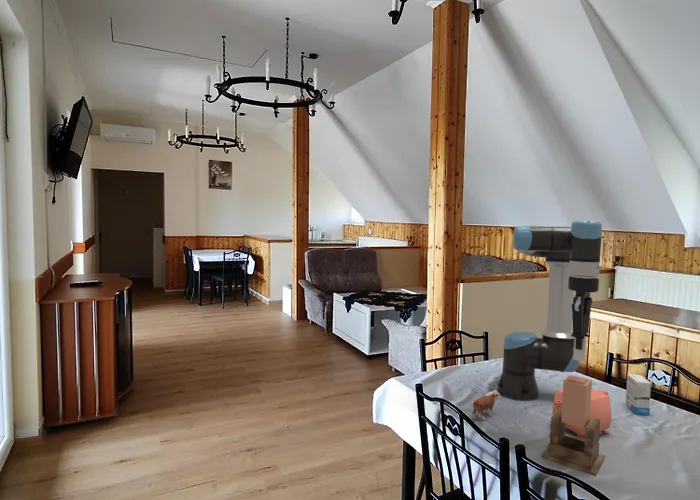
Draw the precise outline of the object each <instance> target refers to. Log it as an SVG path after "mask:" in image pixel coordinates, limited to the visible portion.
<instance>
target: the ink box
mask: <svg viewBox="0 0 700 500" xmlns="http://www.w3.org/2000/svg"><path fill="white" fill-rule="evenodd" d="M651 385H652V384H651V382H650V381H649V380H648V379H646V377H644V376H642V375H641V374H631V373H628V374H626V390H625V393H626V394H625V406H626V407H627V408H628V409H629V410H630V411H632V413H634V415H638V416H639V415H641V416H642V415H643V416H650V405H651Z"/></svg>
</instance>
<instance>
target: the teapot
mask: <svg viewBox="0 0 700 500" xmlns="http://www.w3.org/2000/svg"><path fill="white" fill-rule="evenodd" d="M562 398H563V387H562V388H558V389H556V391H555V395H554V400H553V404H552V413H551V414H552V415H551V416H553V415H554V414H555V413H556V411H557V410H558V409H562ZM592 418H596V419H600V432H599V435H603V432H602V431H605V430H608V429H610V427H611V423H612V405H611V397H610V396H609V392H608V391H605V390H603V389H599V390H597V389H595V388H591V404H590V420H591V419H592ZM589 422H590V421H589ZM587 425H588V424H587ZM565 429H568V430H570V431H572V432H574V433H576V437H579V438H582V439H585V431H586V427H585V429H584V428H580V427H577V426H573V425H570V424H566V423H565Z"/></svg>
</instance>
